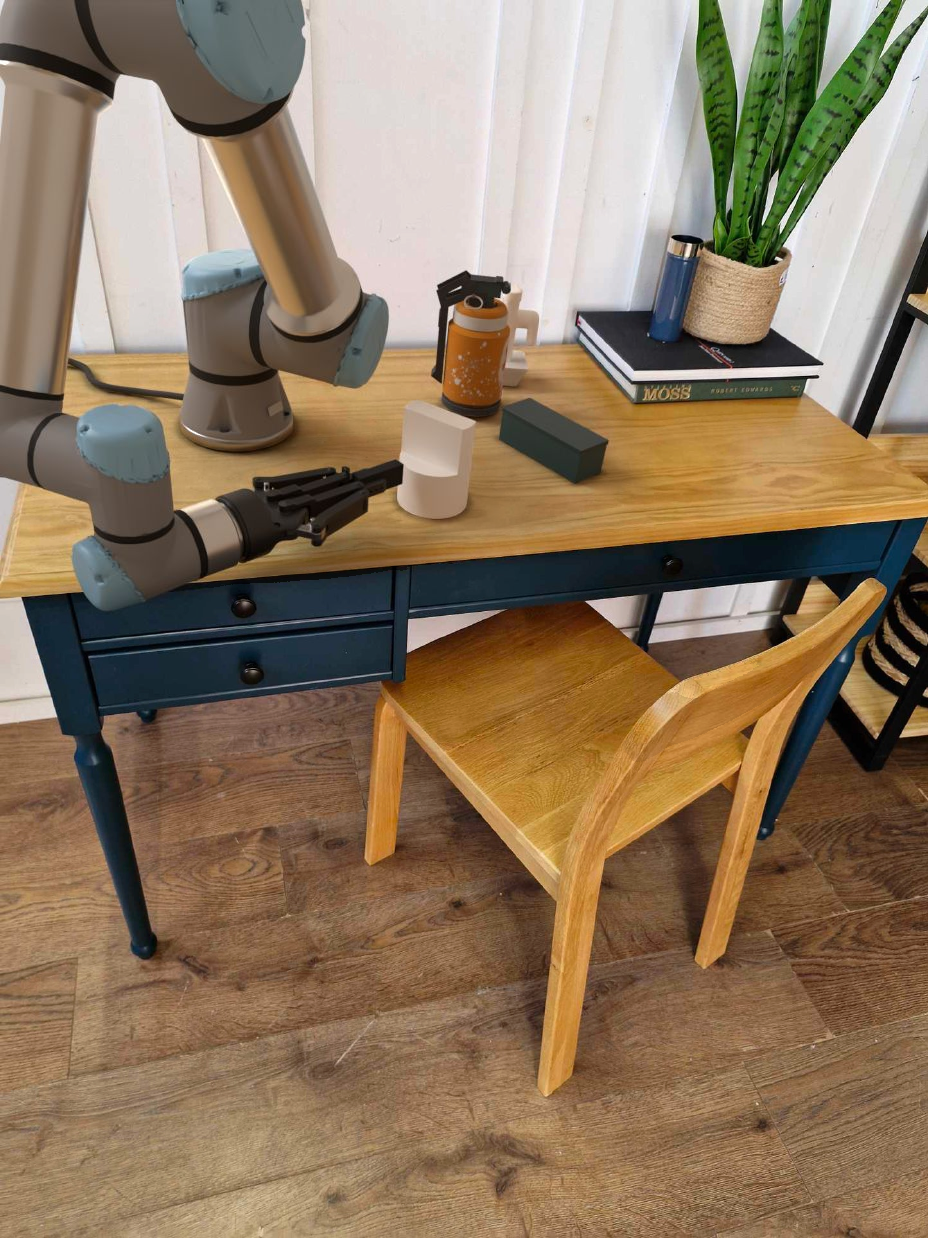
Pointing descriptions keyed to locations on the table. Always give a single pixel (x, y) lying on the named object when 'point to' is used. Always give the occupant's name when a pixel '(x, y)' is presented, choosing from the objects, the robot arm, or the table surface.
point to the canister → (472, 343)
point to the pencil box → (552, 439)
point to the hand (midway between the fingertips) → (399, 471)
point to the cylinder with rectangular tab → (435, 461)
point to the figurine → (516, 319)
